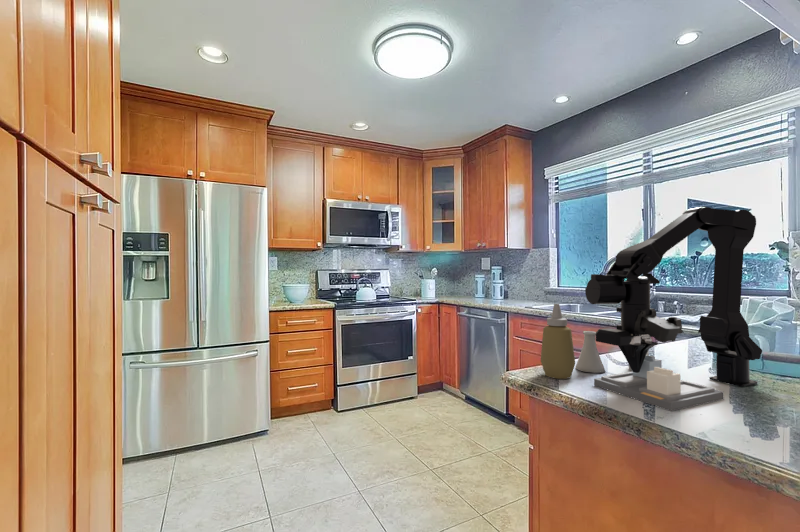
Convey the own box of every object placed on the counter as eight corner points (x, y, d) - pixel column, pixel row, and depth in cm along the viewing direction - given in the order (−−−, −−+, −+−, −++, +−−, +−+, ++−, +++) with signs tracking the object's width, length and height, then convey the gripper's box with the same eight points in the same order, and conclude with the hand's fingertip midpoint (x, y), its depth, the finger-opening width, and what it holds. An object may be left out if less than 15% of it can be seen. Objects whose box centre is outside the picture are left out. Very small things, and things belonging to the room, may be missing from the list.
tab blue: (644, 373, 90) (644, 352, 90) (661, 377, 86) (661, 356, 86) (633, 375, 88) (632, 354, 88) (649, 379, 85) (649, 358, 85)
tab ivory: (660, 388, 78) (659, 365, 78) (680, 394, 75) (680, 370, 75) (647, 391, 77) (646, 367, 77) (667, 397, 73) (666, 372, 73)
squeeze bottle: (533, 375, 95) (532, 303, 95) (552, 370, 100) (551, 301, 100) (564, 383, 88) (563, 306, 89) (582, 376, 93) (580, 304, 93)
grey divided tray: (642, 377, 92) (642, 368, 92) (723, 399, 77) (723, 388, 77) (594, 385, 86) (594, 376, 86) (671, 411, 71) (671, 399, 71)
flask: (598, 366, 103) (598, 329, 103) (610, 374, 95) (610, 334, 96) (571, 366, 103) (570, 329, 103) (581, 373, 96) (580, 334, 96)
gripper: (640, 309, 75) (641, 387, 75) (700, 305, 82) (701, 377, 82) (593, 304, 85) (594, 373, 85) (649, 301, 92) (650, 365, 92)
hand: (635, 372), depth 86 cm, fingers closed
